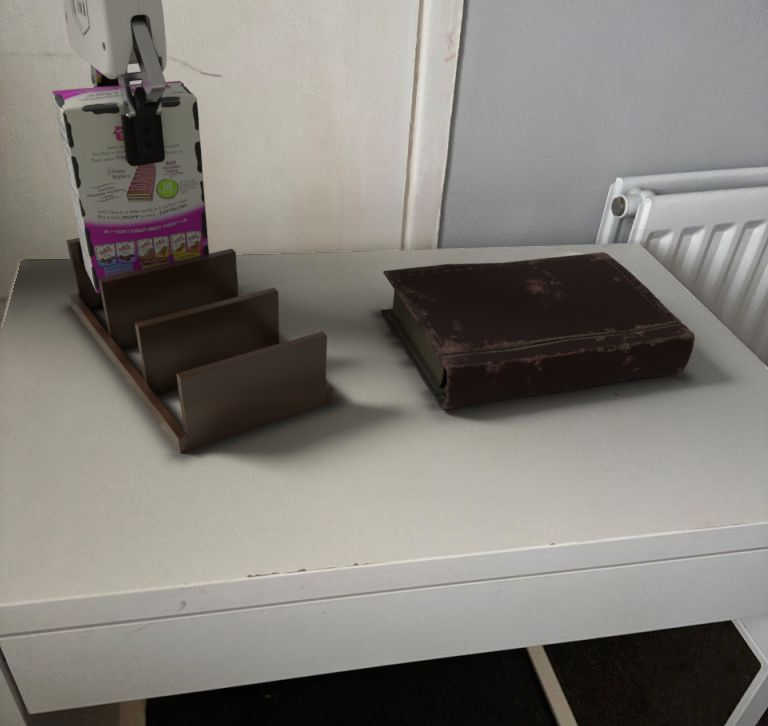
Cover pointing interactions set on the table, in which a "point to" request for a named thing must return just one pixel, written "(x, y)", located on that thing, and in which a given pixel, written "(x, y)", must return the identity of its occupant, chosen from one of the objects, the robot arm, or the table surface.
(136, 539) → the table surface
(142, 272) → the rack
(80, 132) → the candy bar box
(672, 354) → the diary
